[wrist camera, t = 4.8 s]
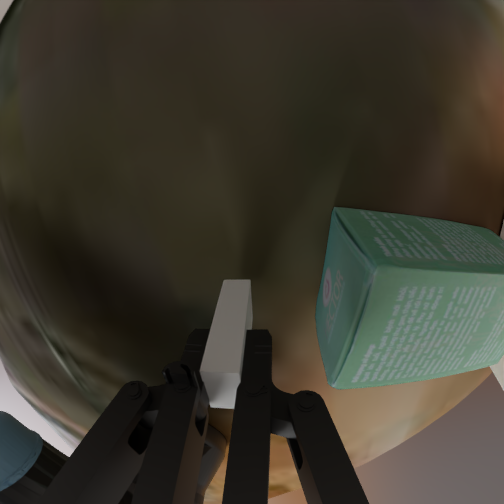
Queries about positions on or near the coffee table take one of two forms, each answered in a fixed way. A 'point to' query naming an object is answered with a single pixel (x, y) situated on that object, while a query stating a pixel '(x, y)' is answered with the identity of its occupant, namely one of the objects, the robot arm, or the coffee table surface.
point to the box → (408, 299)
